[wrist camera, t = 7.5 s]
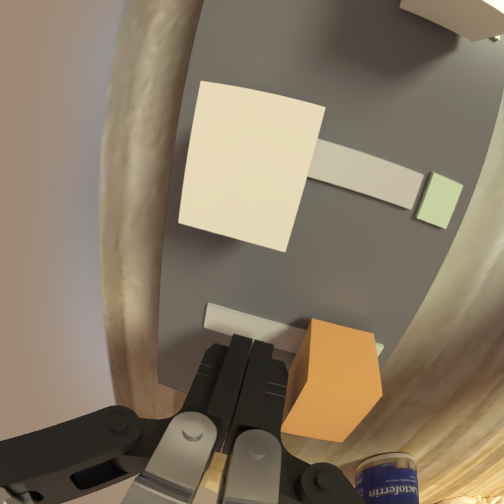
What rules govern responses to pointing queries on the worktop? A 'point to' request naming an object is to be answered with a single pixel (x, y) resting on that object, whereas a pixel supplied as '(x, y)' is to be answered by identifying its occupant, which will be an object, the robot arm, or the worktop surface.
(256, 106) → the switch
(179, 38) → the worktop surface
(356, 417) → the switch
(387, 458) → the pill bottle
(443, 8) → the switch
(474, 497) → the white plaster sculpture
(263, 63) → the slider control box
